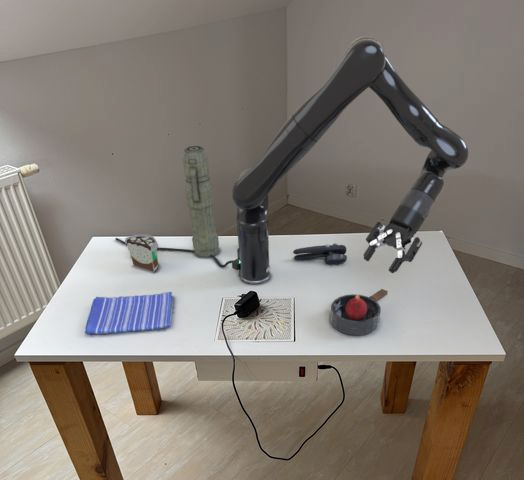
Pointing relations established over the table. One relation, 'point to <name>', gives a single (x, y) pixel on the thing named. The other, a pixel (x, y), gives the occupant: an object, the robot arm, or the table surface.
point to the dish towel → (129, 313)
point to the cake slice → (143, 251)
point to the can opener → (323, 253)
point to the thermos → (200, 202)
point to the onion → (356, 308)
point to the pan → (350, 326)
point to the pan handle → (379, 295)
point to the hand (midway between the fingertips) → (377, 265)
